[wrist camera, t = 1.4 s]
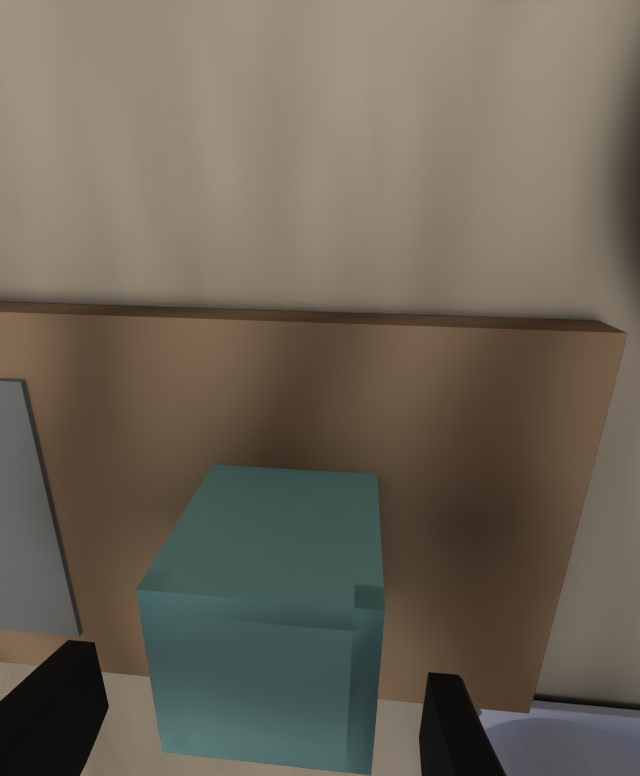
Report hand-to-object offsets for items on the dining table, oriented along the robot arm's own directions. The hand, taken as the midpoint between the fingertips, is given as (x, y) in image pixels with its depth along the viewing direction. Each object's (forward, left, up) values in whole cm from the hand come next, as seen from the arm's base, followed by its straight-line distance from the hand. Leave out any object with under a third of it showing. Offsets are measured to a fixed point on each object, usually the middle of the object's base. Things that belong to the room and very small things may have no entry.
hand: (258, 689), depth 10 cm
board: (+6, 0, -7) cm, 9 cm away
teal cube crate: (0, 0, -5) cm, 5 cm away
